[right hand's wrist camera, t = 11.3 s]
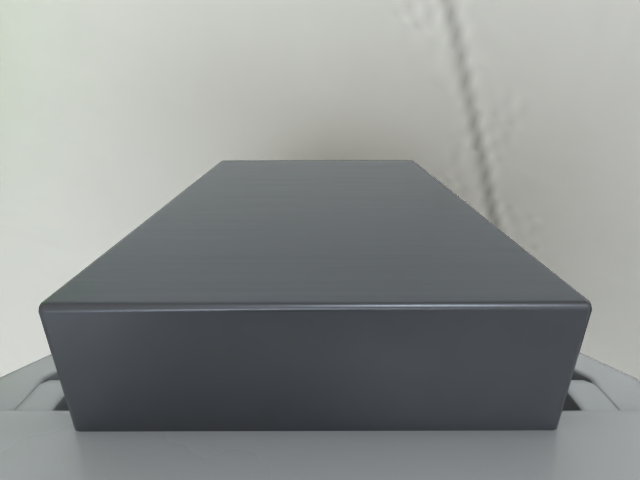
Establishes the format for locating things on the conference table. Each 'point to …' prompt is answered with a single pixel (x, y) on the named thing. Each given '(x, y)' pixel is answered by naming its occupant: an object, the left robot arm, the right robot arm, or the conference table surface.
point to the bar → (315, 311)
